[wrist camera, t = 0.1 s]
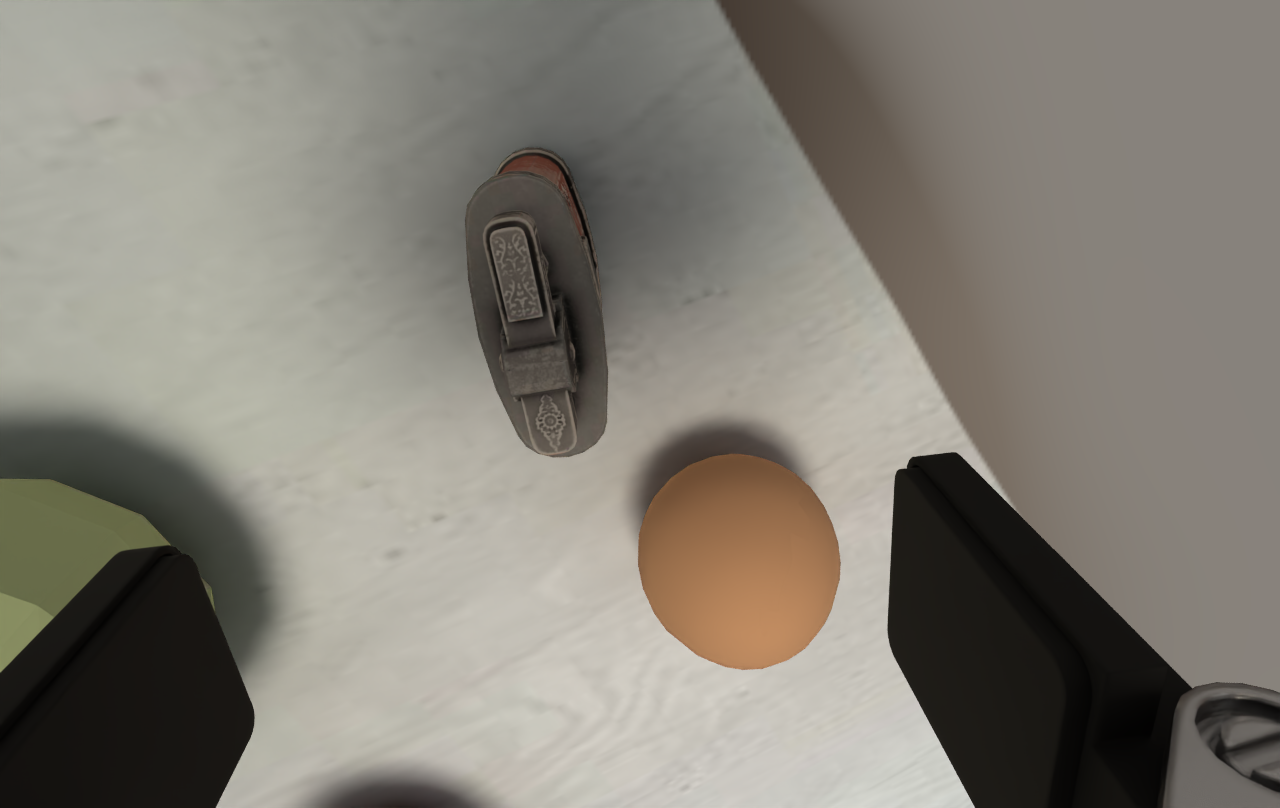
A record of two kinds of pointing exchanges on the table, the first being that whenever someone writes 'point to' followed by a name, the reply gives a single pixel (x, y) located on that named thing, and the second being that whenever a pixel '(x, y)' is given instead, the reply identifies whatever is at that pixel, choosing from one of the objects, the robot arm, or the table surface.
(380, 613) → the table surface
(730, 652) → the egg
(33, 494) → the decorative sphere
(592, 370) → the lighter
